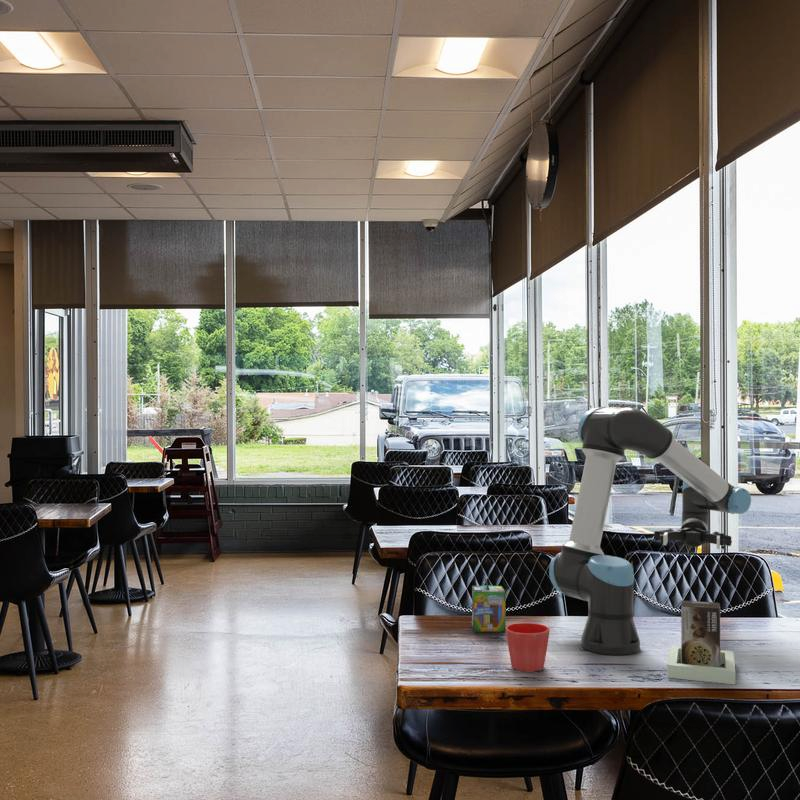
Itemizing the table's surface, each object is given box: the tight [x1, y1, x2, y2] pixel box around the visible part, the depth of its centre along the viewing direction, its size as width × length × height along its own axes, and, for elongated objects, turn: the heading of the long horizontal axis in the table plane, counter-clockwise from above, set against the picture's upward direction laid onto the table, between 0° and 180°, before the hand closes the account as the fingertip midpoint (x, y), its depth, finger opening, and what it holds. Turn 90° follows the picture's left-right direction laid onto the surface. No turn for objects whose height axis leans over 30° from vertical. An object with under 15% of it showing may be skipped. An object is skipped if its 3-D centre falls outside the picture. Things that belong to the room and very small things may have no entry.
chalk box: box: [471, 575, 507, 633], centre depth 257 cm, size 9×9×15 cm
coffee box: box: [680, 600, 722, 668], centre depth 218 cm, size 9×6×16 cm
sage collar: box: [666, 645, 736, 685], centre depth 217 cm, size 15×18×3 cm
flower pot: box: [505, 622, 551, 673], centre depth 219 cm, size 11×11×10 cm
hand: (691, 542), depth 240 cm, fingers open, 13 cm apart
